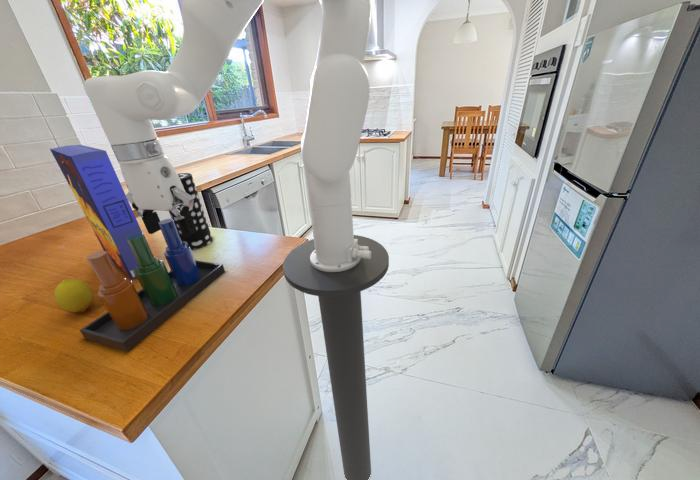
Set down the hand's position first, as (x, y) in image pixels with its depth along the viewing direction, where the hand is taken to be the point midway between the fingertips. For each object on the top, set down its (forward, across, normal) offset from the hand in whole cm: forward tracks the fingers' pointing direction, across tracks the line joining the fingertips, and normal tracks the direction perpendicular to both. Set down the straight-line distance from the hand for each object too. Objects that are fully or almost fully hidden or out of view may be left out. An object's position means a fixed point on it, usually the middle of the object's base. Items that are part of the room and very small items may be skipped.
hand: (173, 232), depth 62 cm
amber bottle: (+12, +1, +14) cm, 19 cm away
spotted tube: (+13, +15, -17) cm, 26 cm away
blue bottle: (+12, +1, 0) cm, 12 cm away
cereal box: (+13, +26, -4) cm, 29 cm away
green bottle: (+12, +1, +7) cm, 14 cm away
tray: (+13, +1, +7) cm, 15 cm away
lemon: (+13, +16, +14) cm, 25 cm away
